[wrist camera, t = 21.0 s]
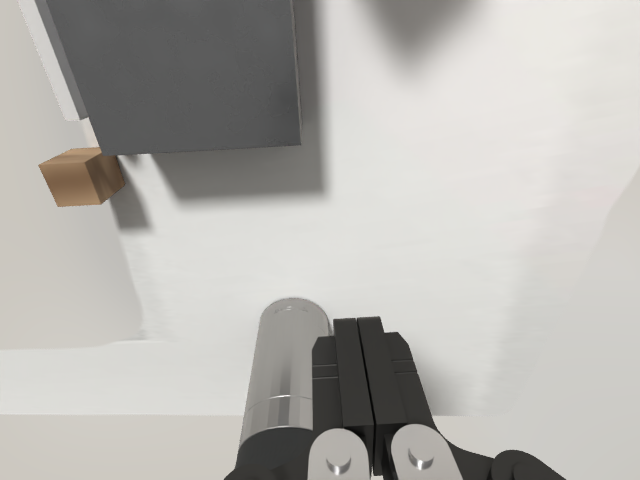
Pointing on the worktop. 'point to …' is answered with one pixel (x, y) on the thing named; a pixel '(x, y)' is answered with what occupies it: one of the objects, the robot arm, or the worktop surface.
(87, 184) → the wooden block
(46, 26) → the tray
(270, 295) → the worktop surface
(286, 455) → the robot arm
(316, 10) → the worktop surface
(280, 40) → the housing
